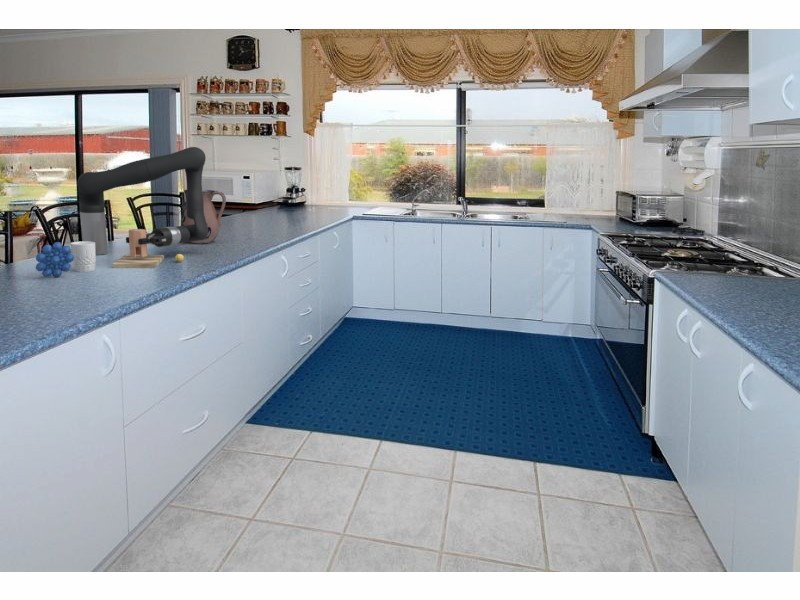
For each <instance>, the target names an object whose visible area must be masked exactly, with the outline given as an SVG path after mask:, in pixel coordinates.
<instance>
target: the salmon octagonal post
mask: <svg viewBox="0 0 800 600" xmlns="http://www.w3.org/2000/svg"><path fill="white" fill-rule="evenodd" d="M146 234H147V229H143V228H132V229H128V237H129V243H128V245H129V255H130V257H136V255H141V257H145V256H147V255H148V244H142V245H139V244H138V239H141V238H146Z"/></svg>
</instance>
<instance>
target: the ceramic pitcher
mask: <svg viewBox="0 0 800 600" xmlns="http://www.w3.org/2000/svg"><path fill="white" fill-rule="evenodd" d="M183 192H184V205H183V209H182V214H181V219H180V226H186V225H194V224H195V223H194V220H193V219H190V218H188V217H187V209H186V195H187V189H183ZM202 193H203V203H204V217H205V220H206V223H207V227H208V235H207V237H206V239H204V240H199V241H189V243H191V244H210V243H211V242H213V241H214V240H215V239H216V238H217V237H218V235H219V231H220V228H221V225H222V223H221V218H222V216H223V213H224V210H225V207H226V204H227V203H226V202H227V201H226V199H227V197H226V195H225V194H224V193H223V192H222V191H219V190H212V189H202ZM216 195H219V196H221V199H222V201H221V202H222V203H221V207H220V209H219V212H217V210H216V208H215V205H214V204H213V201H212V200H213V198H214V196H216Z"/></svg>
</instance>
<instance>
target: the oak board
mask: <svg viewBox="0 0 800 600" xmlns="http://www.w3.org/2000/svg"><path fill="white" fill-rule="evenodd" d="M164 259H165V255H164V254H163V255H162V254H159V255H157V254H155V255H154V254H153V255H152V254H150V255H149V254H147V256H145V257H141V255H136V257H130V254H124V255H122V256H121V257H119V258H118V259H117V260H115V261H114V262H113V263H112V264H111V266H112V269H123V268H124V269H129V268H130V269H132V268H133V269H137V268H138V269H143V268H144V269H145V268H147V269H152V268H153V269H154V268H155V269H156V268H157V266H159V264H161V263H162V261H164Z"/></svg>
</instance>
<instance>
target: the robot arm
mask: <svg viewBox="0 0 800 600" xmlns="http://www.w3.org/2000/svg"><path fill="white" fill-rule="evenodd" d="M205 164H206V154H205V151H203V150H202V149H201V148H200V147H196V146H190V147H187V148H184V149H180V150H179V151H175V152H172V153H169V154H164V155H157V156H152V157H147V158H142V159H138V160H134V161H131V162H128V163H125V164H123V165H120V166H118V167H115V168H112V169H108V170H100V171H95V172H93V171H86V172H83V173H82V174H80V175H79V177H78V179H77V183H76V184H77V189H78V191H77V192H78V198H79V199H78V201H79V202H78V203H79V207H78V208H79V216H80V217H79V218H80V228H81V240H82V241H90V242H95V251H96V256H98V255H99V256H100V255H106V254H107V255H108V252H109V251H108V236H107V235H108V234H107V223H106V221H107V220H106V210H105V209H106V208H105V195H104V193H105V192H107V191H110V190H114V189H115V188H118V187H119V188H121V187H127V186H134V185H135V186H136V185H140V184H145V183H148V182H152V181H156V180H158V179H161V178H163V177H165V176H167V175H169V174H172V173H173V172H177V171H183V170H184V172H185V178H186V190H187V195H186V209H187V217H188V218H190V219H193V220H194V223H195V224H194V225H186V226H181V225H180V226H179V225H177V226H164V227H157V228H154V229H153V230H152V231H151V232H146V238H141V239H138V244H139V245H142V244H147V245H154V246H155V247H158V248H164V247H169V246H174V245H176V244H178V245H179V244H184V243H186V242H189V241H199V240H204V239H206V237H207V235H208V227H207V223H206V220H205V217H204V203H203V193H202V190H203V186H202V185H203V183H202V181H203V180H202V177H203V170H204V166H205ZM125 243H126V244H129V236H126V237H125ZM189 243H190V242H189Z"/></svg>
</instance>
